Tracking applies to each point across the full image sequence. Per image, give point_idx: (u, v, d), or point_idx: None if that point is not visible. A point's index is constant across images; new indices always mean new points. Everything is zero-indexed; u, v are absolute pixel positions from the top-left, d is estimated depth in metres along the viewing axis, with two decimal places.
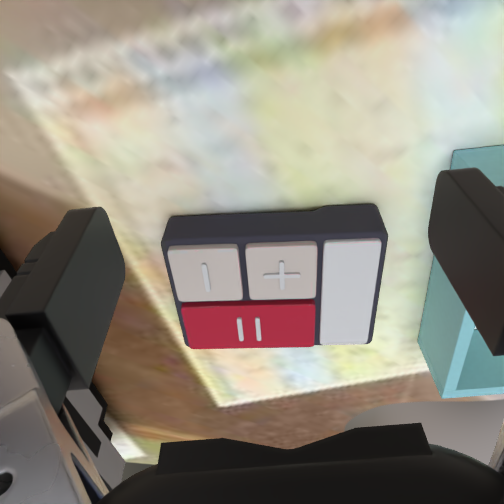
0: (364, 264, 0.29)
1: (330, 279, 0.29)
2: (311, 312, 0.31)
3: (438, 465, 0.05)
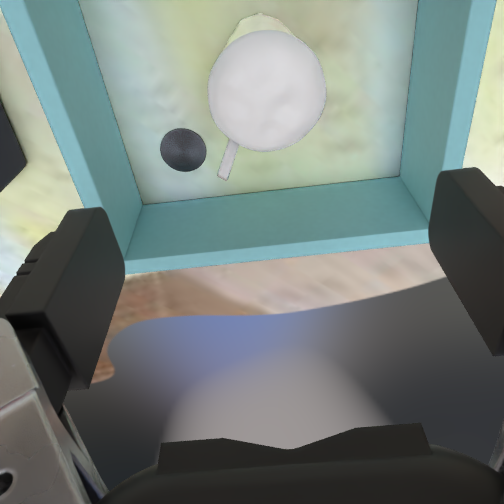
0: None
1: None
2: None
3: (438, 465, 0.05)
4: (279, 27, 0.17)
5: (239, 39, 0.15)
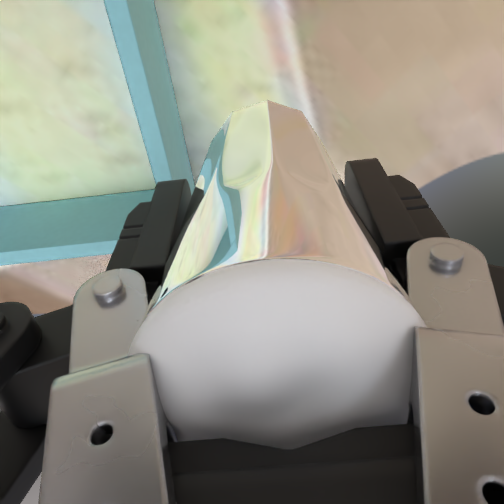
0: None
1: None
2: None
3: None
4: (313, 196, 0.07)
5: (203, 293, 0.05)
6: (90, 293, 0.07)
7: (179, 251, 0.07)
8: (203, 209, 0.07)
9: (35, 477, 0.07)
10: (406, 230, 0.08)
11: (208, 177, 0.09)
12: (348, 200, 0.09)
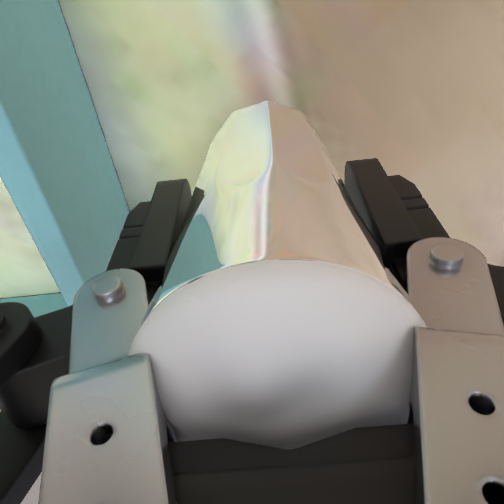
0: None
1: None
2: None
3: None
4: (314, 197, 0.07)
5: (204, 293, 0.05)
6: (90, 293, 0.07)
7: (179, 251, 0.07)
8: (203, 209, 0.07)
9: (35, 476, 0.07)
10: (406, 230, 0.08)
11: (208, 177, 0.09)
12: (348, 200, 0.09)
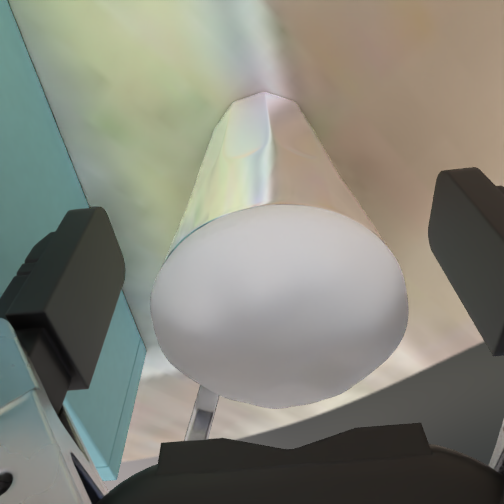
0: None
1: None
2: None
3: (438, 465, 0.05)
4: (305, 163, 0.08)
5: (217, 230, 0.06)
6: None
7: (192, 208, 0.08)
8: (211, 176, 0.09)
9: None
10: None
11: (213, 155, 0.10)
12: None
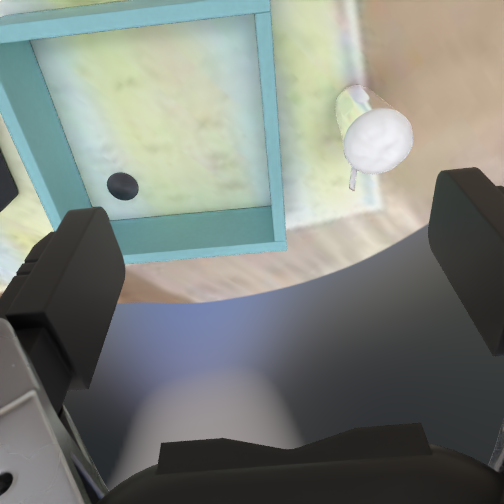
0: None
1: None
2: None
3: (438, 465, 0.05)
4: (384, 102, 0.29)
5: (368, 113, 0.27)
6: None
7: (354, 113, 0.29)
8: (355, 107, 0.30)
9: None
10: None
11: (348, 104, 0.31)
12: None
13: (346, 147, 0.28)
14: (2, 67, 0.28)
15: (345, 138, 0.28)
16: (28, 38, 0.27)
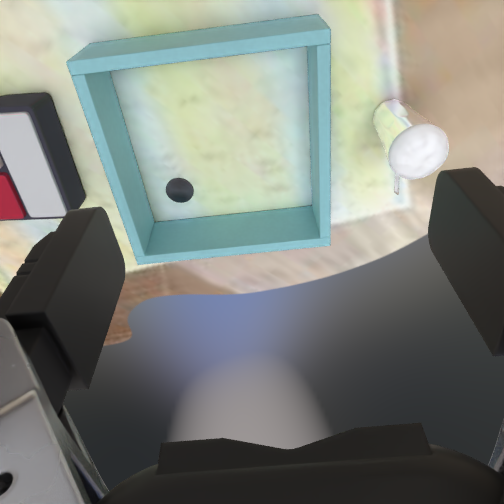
0: (25, 136, 0.36)
1: (5, 150, 0.37)
2: (5, 183, 0.39)
3: (438, 465, 0.05)
4: (422, 117, 0.34)
5: (412, 128, 0.32)
6: None
7: (397, 127, 0.33)
8: (397, 121, 0.34)
9: None
10: None
11: (389, 117, 0.36)
12: None
13: (391, 157, 0.33)
14: (94, 91, 0.33)
15: (390, 149, 0.33)
16: (121, 68, 0.31)
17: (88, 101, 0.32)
